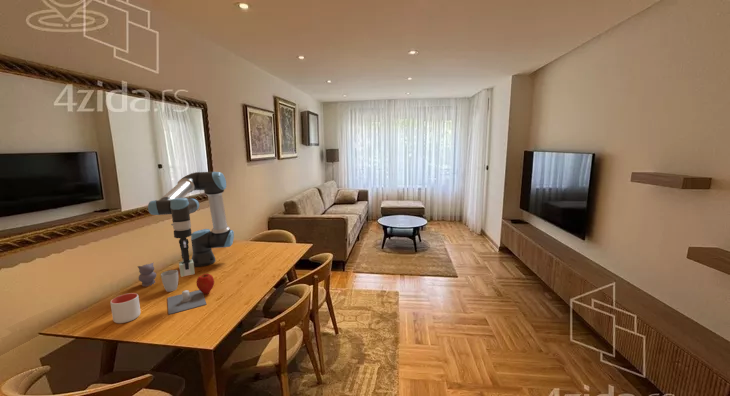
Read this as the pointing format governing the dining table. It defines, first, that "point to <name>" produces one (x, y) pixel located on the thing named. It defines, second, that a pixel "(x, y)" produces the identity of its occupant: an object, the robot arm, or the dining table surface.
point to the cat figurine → (147, 274)
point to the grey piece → (185, 301)
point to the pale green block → (183, 268)
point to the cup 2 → (170, 280)
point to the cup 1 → (125, 308)
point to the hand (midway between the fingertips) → (187, 272)
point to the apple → (205, 283)
